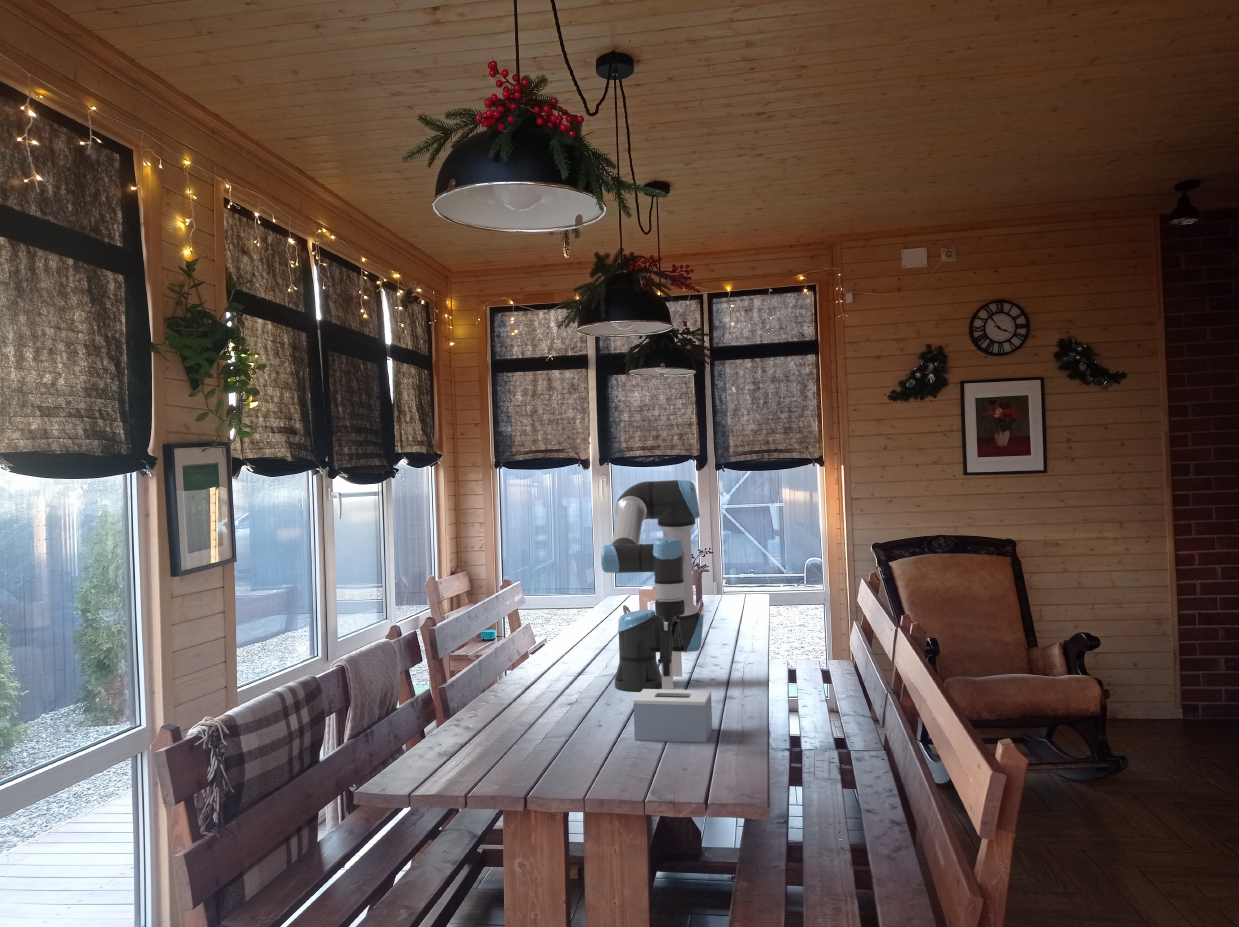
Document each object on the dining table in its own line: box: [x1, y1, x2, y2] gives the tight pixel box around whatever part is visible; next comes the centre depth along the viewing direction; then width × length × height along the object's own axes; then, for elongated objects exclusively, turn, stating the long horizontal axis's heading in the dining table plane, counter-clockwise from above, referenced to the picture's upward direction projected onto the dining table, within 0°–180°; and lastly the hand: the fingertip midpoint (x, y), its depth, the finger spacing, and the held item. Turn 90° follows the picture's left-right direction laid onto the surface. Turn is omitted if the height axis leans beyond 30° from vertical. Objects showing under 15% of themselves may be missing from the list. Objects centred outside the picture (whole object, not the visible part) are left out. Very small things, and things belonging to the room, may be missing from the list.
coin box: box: [632, 688, 713, 744], centre depth 234 cm, size 12×18×10 cm, turn 77°
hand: (672, 682), depth 234 cm, fingers open, 13 cm apart
